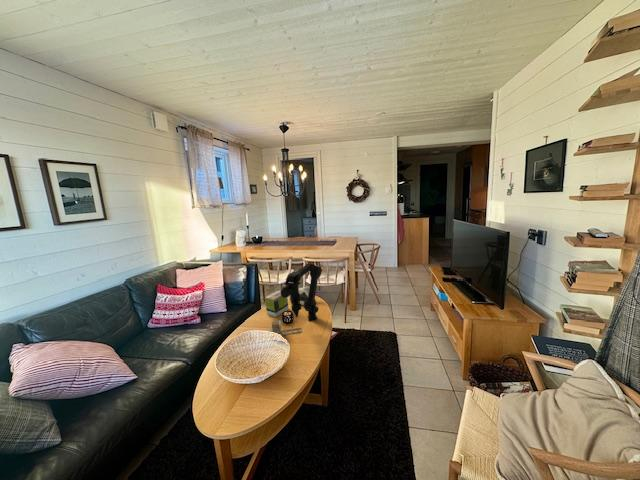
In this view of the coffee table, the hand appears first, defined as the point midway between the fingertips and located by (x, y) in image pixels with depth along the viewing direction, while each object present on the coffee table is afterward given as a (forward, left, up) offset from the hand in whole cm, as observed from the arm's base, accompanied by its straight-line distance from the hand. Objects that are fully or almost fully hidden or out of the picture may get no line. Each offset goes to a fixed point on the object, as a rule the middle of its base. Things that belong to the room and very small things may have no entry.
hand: (296, 313), depth 173 cm
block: (+1, -14, -9) cm, 17 cm away
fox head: (-42, +8, -12) cm, 44 cm away
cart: (+1, -15, -12) cm, 19 cm away
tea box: (-30, -13, -12) cm, 35 cm away
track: (+1, -8, -12) cm, 14 cm away
